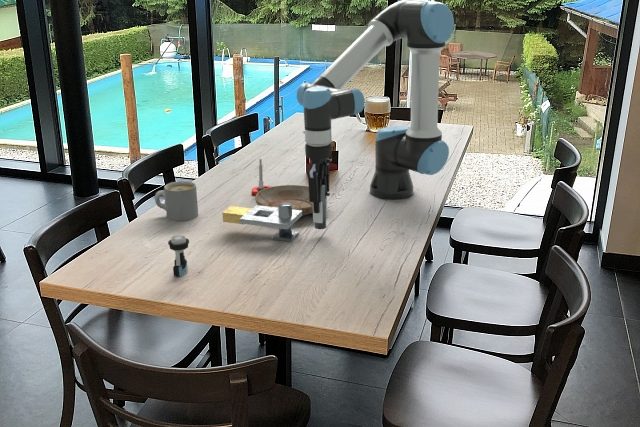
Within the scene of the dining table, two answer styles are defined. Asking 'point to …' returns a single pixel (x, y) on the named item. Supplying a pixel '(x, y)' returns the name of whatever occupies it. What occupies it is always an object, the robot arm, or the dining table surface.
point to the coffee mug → (179, 200)
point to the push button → (179, 254)
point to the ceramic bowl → (286, 197)
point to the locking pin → (323, 199)
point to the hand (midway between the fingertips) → (320, 219)
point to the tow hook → (260, 187)
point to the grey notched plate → (267, 218)
